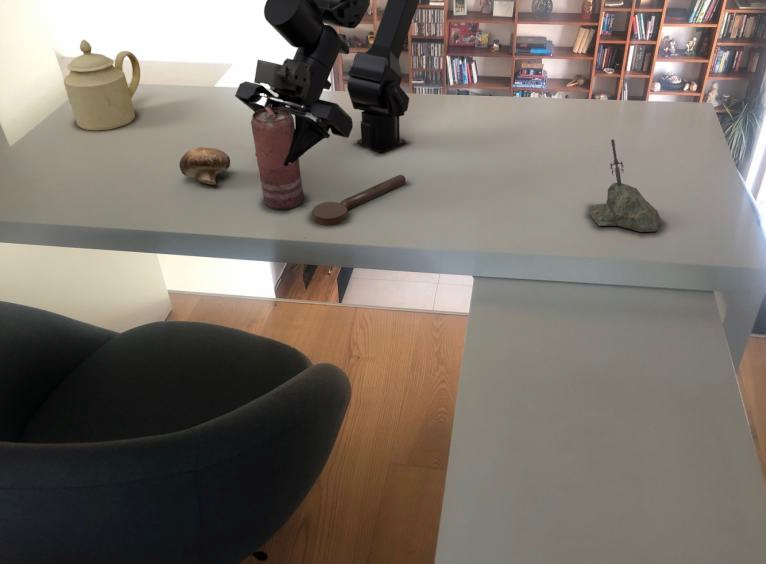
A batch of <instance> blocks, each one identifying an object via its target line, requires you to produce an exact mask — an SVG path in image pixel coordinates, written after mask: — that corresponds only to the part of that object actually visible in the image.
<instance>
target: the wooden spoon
mask: <svg viewBox="0 0 766 564" xmlns="http://www.w3.org/2000/svg"><path fill="white" fill-rule="evenodd" d="M406 180H407V179H406V176H405V175H404V174H398V175H396V176H393V177H392V178H389V179H387V180H385V181H383V182H380V183H377V184H376V185H373V186H372V187H369V188H366V189H365V190H363V191H360V192H358V193H356V194H353V195H351V196H349V197H347V198H345V199H343V200H340V202H338V201H325V202H321V203H318V204H316V205H315V206H313V208H312V210H311V212H312V219H313V221H314V222H315V223H316V224H319V225H322V226H334V225H338V224H341V223H343V222H345V221H346V220H347V219H348V211H349V210H351V209H352V208H355V207H357V206H359V205H361V204H364V203H366V202H368V201H370V200H372V199H374V198H377V197H379V196H381V195H383V194H385V193H388V192H389V191H393V190H394V189H396V188H398V187H401V186H403V185H404V184H405V183H406Z"/></svg>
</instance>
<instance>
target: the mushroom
mask: <svg viewBox="0 0 766 564" xmlns="http://www.w3.org/2000/svg"><path fill="white" fill-rule="evenodd" d="M178 166H179V169H180V173H181V174H182V175H183V176H186V177H191V178H196V179H197V181H198V182H200V183H202V184H206V185H207V184H208V185H211V186H216V185H217V181H216V176H217V175H218V174H220V173H223V172H225V171H227V170H228V169H229V168H230V167H231V158H230V156H229V155H228V154H227V153H226V152H225V151H223V150H221V149H218V148H215V147H203V146H200V147H194V148H191V149H189V150H188V151H186V152H185V153H184V154H183V155H182V157H181V158H180V160H179V165H178Z"/></svg>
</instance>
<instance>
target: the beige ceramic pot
mask: <svg viewBox="0 0 766 564" xmlns="http://www.w3.org/2000/svg"><path fill="white" fill-rule="evenodd" d="M79 50H80V51H81V52H82V53H83V54H81V55H78V56H76V57H74V58H73V59H71V61H70V63H68V64H67V65H66V69H67V70H68V71H69V74H67V75H66V76H65V77H63V84H64V88H65V92H66V95H67V98H68V101H69V104H70V108H71V110H72V114H73V116H74V118H75V123H76V125H77V126H78V127H79V128H81V129H83V130H87V131H107V130H108V131H109V130H114V129H118V128H122V127H124V126H126V125H128V124H130V123H131V122H132V121H134V119H135V118H136V112H135V110H134V105H133V100H132V99H133V97H134V95H135V93H136V92H137V90H138V87H139V84H140V81H141V66H140V63H139V60H138V58H137V56H136V55H135V54H134V53H133V52H131V51H129V50H123V51H119V52H118V53H117V54H116V56H115V58H114V59H115V60H113V59H112V58H110V57H108V56H106V55H104V54H102V53H92V45H91V44H90V43H89V42H88V41H87V40H85V39H82V40H81V41H80V44H79ZM126 57H127V58H128V60H129V61H130V64H131V69H132V72H131V73H132V76H131V81H130V83H129V85H128V81H127V79H126V74H125V71H124V70H123V66H124V65H123V63H124V60H125V58H126Z"/></svg>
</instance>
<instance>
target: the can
mask: <svg viewBox="0 0 766 564" xmlns="http://www.w3.org/2000/svg"><path fill="white" fill-rule="evenodd" d="M250 126H251V131H252V137H253V142H254V143H253V144H254V149H255V157H256V156H257V157H256V161H257V167H258V173H259V174H258V175H259V178H260V186H261V191H262V197H263V202H264V204H265V205H266V206H267V207H268V208H270V209H272V210H275V211H276V210H277V211H286V210H287V211H288V210H291V209H294V208H296V207H299V206H300V204H301V203H302V202H303V199H304V191H303V183H302V182H303V181H302V175H301V166H300V157H299V158H298V159H297V160H296V161H295V162H294V163H289V164H288V165H287V166H284V162H285V159H286V157H287V155H288V153H289V150H290V147H291V143H292V138H293V133H294V131H295V117H294V115H292V114H291V113H290V111H289V110H288V109H285V108H280V107H271V108H269V107H266V108H264V109H261V110H258V111H256V112H253V113H252V117H251V121H250Z"/></svg>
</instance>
